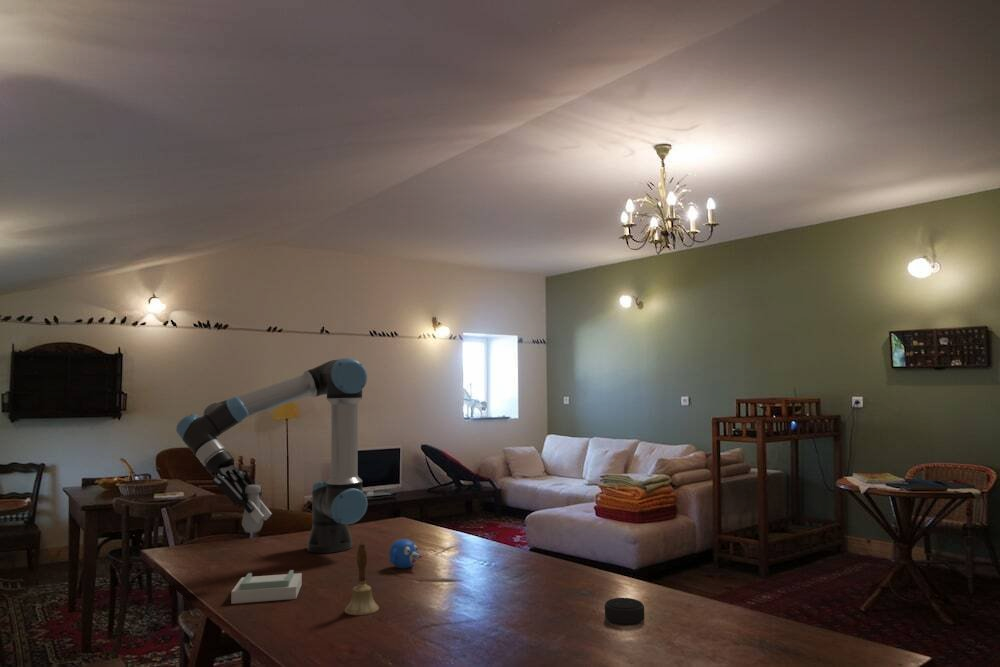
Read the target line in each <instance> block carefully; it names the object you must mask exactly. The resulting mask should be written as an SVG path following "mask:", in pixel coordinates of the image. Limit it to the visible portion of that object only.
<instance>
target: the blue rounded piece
mask: <svg viewBox="0 0 1000 667" xmlns="http://www.w3.org/2000/svg"><path fill="white" fill-rule="evenodd" d="M389 548H390V549H389V552H388V554H389V557H388V558H389V563H391V564H392V565H393V566H395V567H396V568H398V569H407V568H410V567H412V566H413V565H414V564H415V563H416V562H417V561H418V560H419V559H422V558H423V555H422V554H420V553H419V548H418V546H417V545H416V543H415V542H414V541H412V540H411V539H407V538H402V539H398V540H396V541H394V543H392V545H391V546H390V547H389Z"/></svg>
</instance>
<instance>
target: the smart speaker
mask: <svg viewBox="0 0 1000 667" xmlns="http://www.w3.org/2000/svg"><path fill="white" fill-rule="evenodd" d="M645 617H646V616H645V605H644V604H643V602H641V601H640V600H639V599H634V598H632V597H631V598H629V597H615V598H610V599H608V600H607V601H606V602H605V603H604V618H605V620H606V621H607V622H609V623H611V624H613V625H618V626H626V627H627V626H636V625H638V624H642V622H643V621H644V620H645Z"/></svg>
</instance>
